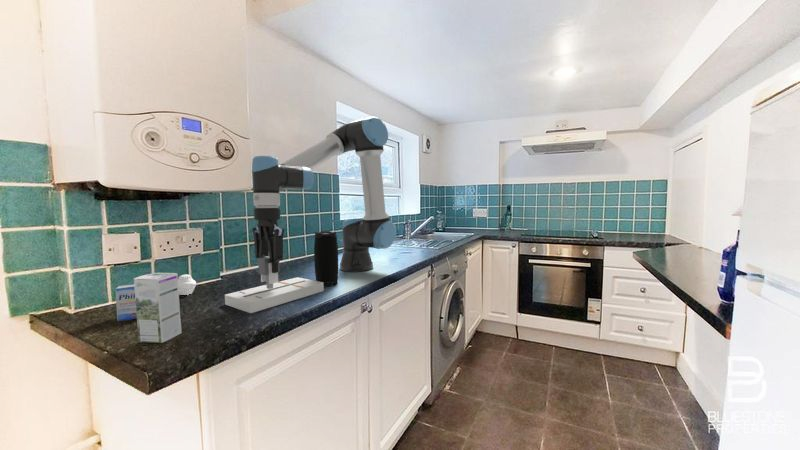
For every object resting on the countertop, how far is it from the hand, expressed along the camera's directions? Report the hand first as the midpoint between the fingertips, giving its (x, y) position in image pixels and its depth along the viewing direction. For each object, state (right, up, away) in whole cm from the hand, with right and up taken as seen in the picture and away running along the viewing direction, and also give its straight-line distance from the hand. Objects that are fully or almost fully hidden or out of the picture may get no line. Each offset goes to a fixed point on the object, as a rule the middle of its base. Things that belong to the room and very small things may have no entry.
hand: (269, 281), depth 97 cm
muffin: (-31, -6, +7) cm, 32 cm away
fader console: (+2, -5, +3) cm, 6 cm away
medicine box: (-30, -7, -13) cm, 34 cm away
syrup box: (-13, -8, -27) cm, 31 cm away
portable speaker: (+14, -4, +18) cm, 23 cm away
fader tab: (0, -2, 0) cm, 2 cm away
